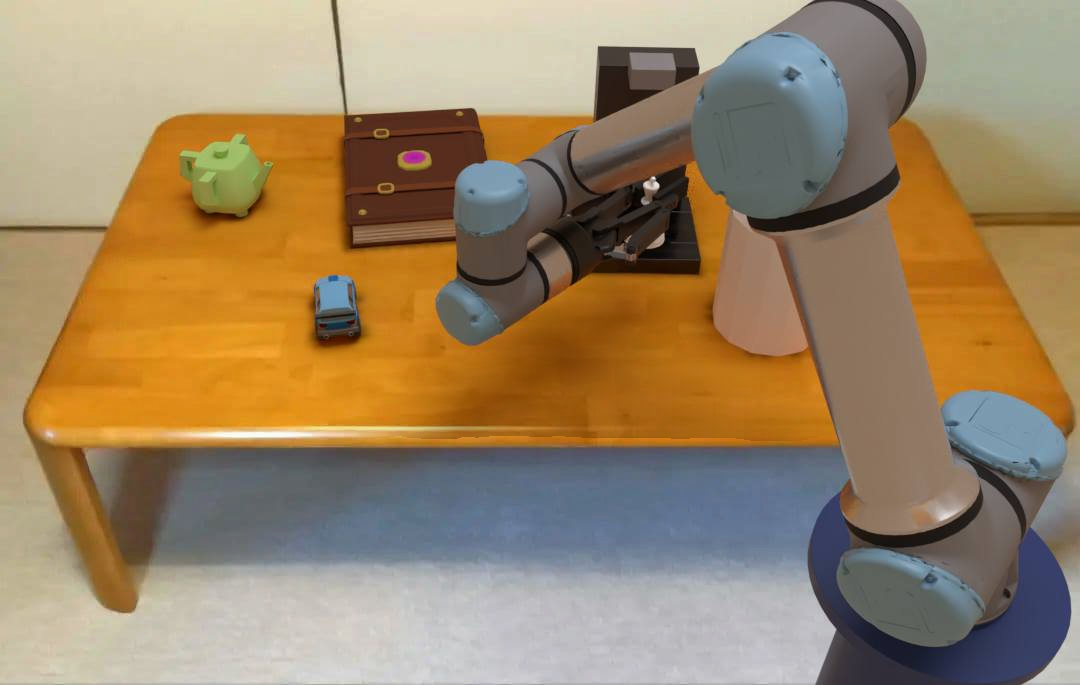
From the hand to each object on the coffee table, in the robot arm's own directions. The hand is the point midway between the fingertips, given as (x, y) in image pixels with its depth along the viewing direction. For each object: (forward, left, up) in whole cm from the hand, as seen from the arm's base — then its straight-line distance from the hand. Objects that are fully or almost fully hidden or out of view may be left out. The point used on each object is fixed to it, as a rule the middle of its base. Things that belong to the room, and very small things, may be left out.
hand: (676, 181), depth 131 cm
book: (+26, +36, -18) cm, 48 cm away
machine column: (+21, +2, -18) cm, 27 cm away
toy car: (-7, +44, -18) cm, 48 cm away
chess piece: (-4, +4, -6) cm, 8 cm away
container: (-6, -14, -18) cm, 23 cm away
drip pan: (+12, +2, -18) cm, 22 cm away
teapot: (+20, +64, -18) cm, 70 cm away
